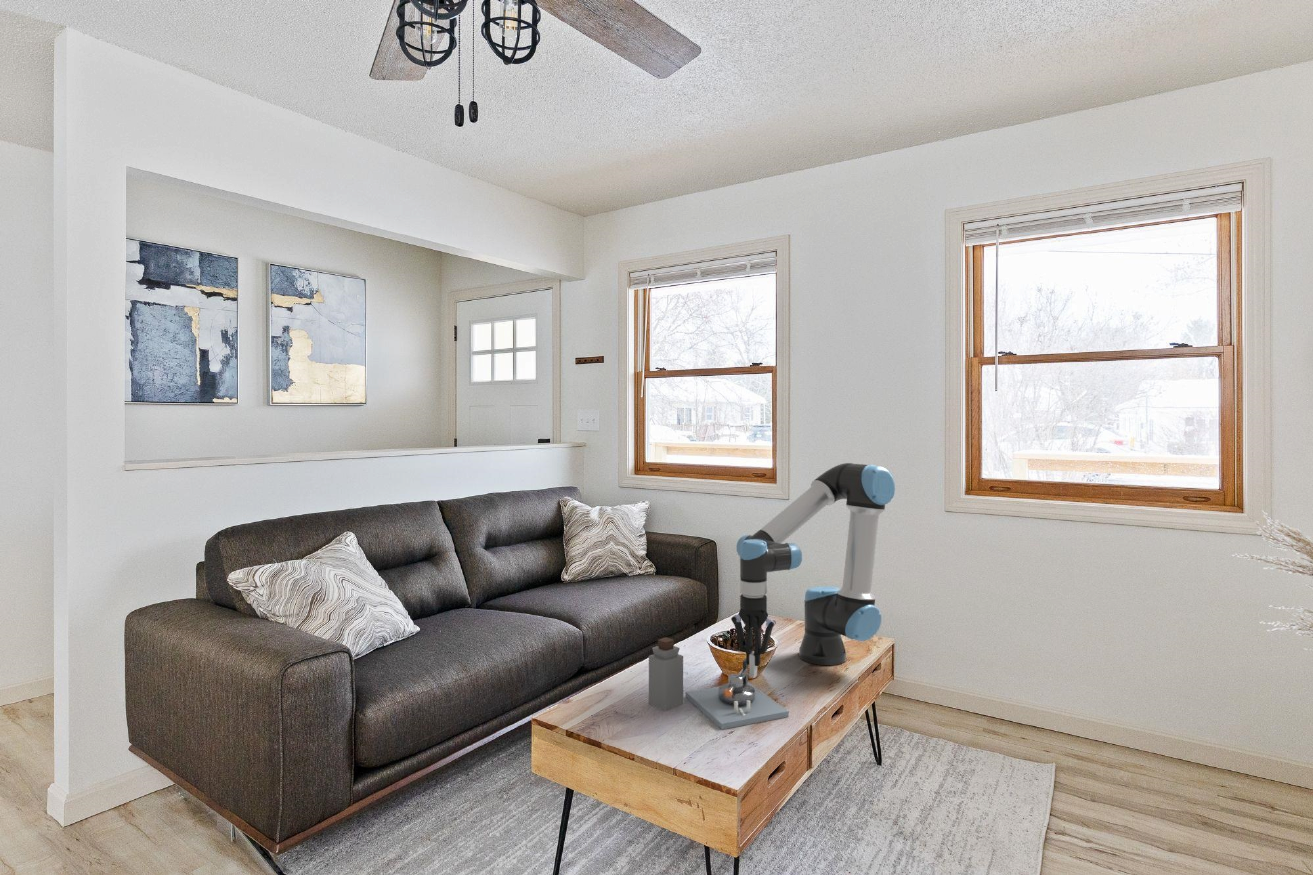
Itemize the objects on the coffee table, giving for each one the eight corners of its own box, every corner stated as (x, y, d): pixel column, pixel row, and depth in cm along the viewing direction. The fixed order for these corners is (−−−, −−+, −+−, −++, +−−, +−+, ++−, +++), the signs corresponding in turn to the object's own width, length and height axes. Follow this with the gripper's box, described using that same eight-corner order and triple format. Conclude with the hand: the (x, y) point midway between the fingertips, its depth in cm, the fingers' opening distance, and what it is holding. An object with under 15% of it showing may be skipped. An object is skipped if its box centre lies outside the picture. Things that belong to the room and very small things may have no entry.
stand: (747, 686, 207) (747, 671, 207) (788, 716, 187) (788, 699, 187) (685, 696, 200) (685, 681, 200) (721, 729, 179) (721, 712, 179)
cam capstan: (745, 714, 183) (745, 686, 183) (708, 708, 187) (708, 681, 187) (763, 685, 202) (763, 660, 202) (729, 680, 206) (729, 656, 206)
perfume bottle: (665, 696, 200) (665, 634, 199) (683, 703, 195) (683, 639, 195) (648, 703, 195) (648, 639, 195) (666, 711, 191) (666, 645, 190)
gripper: (779, 594, 201) (779, 675, 202) (736, 588, 207) (736, 668, 208) (771, 600, 194) (770, 684, 195) (727, 594, 200) (727, 676, 201)
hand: (753, 676), depth 201 cm, fingers closed
